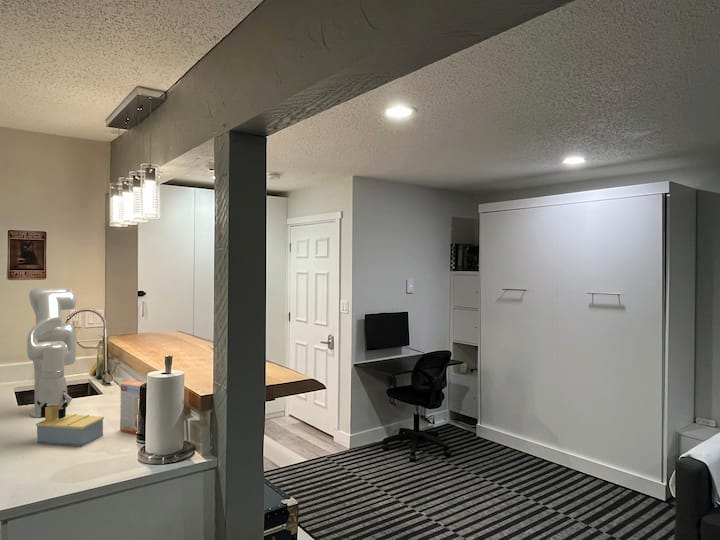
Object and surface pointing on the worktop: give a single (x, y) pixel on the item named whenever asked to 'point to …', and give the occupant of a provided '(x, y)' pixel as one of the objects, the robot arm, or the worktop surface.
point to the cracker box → (129, 406)
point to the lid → (66, 419)
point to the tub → (69, 434)
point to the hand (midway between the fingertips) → (53, 417)
